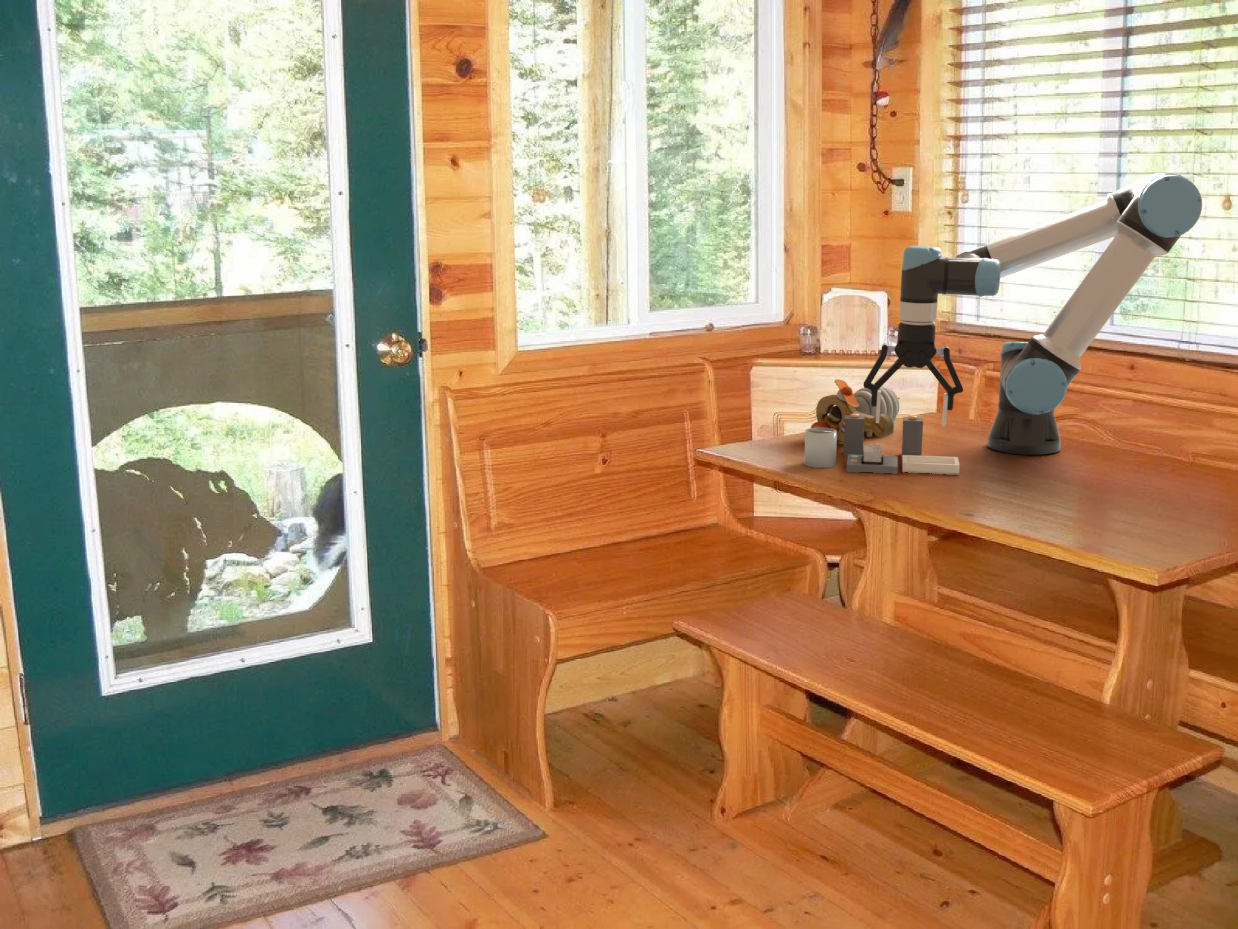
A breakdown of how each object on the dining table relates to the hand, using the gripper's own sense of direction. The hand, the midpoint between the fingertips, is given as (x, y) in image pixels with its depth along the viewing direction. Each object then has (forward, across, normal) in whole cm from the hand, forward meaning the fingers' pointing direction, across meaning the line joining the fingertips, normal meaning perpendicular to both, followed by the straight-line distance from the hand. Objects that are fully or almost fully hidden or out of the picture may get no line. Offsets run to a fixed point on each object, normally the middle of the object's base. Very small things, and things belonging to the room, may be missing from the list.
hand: (910, 423), depth 295 cm
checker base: (+7, +7, +12) cm, 16 cm away
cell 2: (+7, -1, 0) cm, 7 cm away
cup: (+7, +18, +11) cm, 22 cm away
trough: (+7, -4, +12) cm, 14 cm away
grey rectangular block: (+5, +7, +12) cm, 15 cm away
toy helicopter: (+7, +12, -9) cm, 17 cm away
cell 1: (+7, +11, 0) cm, 13 cm away
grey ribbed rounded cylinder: (+7, +8, -23) cm, 25 cm away
